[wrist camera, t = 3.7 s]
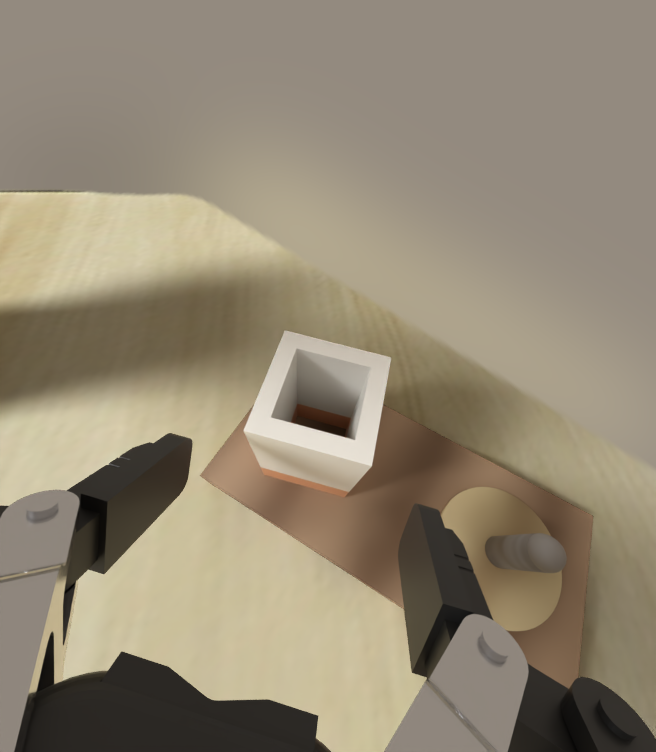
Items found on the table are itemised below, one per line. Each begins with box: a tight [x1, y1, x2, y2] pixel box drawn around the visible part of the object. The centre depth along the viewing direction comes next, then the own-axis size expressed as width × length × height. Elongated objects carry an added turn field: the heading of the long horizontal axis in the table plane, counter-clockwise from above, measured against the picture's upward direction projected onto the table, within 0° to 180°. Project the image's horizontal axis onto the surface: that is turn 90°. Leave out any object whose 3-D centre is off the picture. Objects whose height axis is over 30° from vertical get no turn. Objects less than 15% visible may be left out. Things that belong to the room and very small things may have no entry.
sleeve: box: [244, 330, 391, 497], centre depth 16 cm, size 5×5×8 cm
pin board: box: [200, 405, 593, 689], centre depth 17 cm, size 22×10×7 cm, turn 61°
